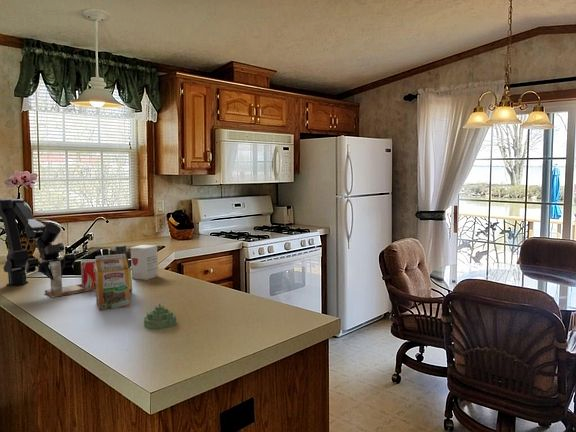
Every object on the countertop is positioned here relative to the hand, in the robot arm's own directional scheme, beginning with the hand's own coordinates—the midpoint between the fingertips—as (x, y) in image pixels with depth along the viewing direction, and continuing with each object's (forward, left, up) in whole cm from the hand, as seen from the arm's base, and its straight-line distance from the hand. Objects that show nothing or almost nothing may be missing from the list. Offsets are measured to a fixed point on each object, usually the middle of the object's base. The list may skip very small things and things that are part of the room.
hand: (57, 278), depth 195 cm
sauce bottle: (+26, +5, -7) cm, 28 cm away
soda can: (+7, +12, -7) cm, 16 cm away
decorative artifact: (+60, -31, -7) cm, 68 cm away
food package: (+31, -12, -7) cm, 34 cm away
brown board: (+3, +7, -6) cm, 10 cm away
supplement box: (+20, +35, -7) cm, 41 cm away
